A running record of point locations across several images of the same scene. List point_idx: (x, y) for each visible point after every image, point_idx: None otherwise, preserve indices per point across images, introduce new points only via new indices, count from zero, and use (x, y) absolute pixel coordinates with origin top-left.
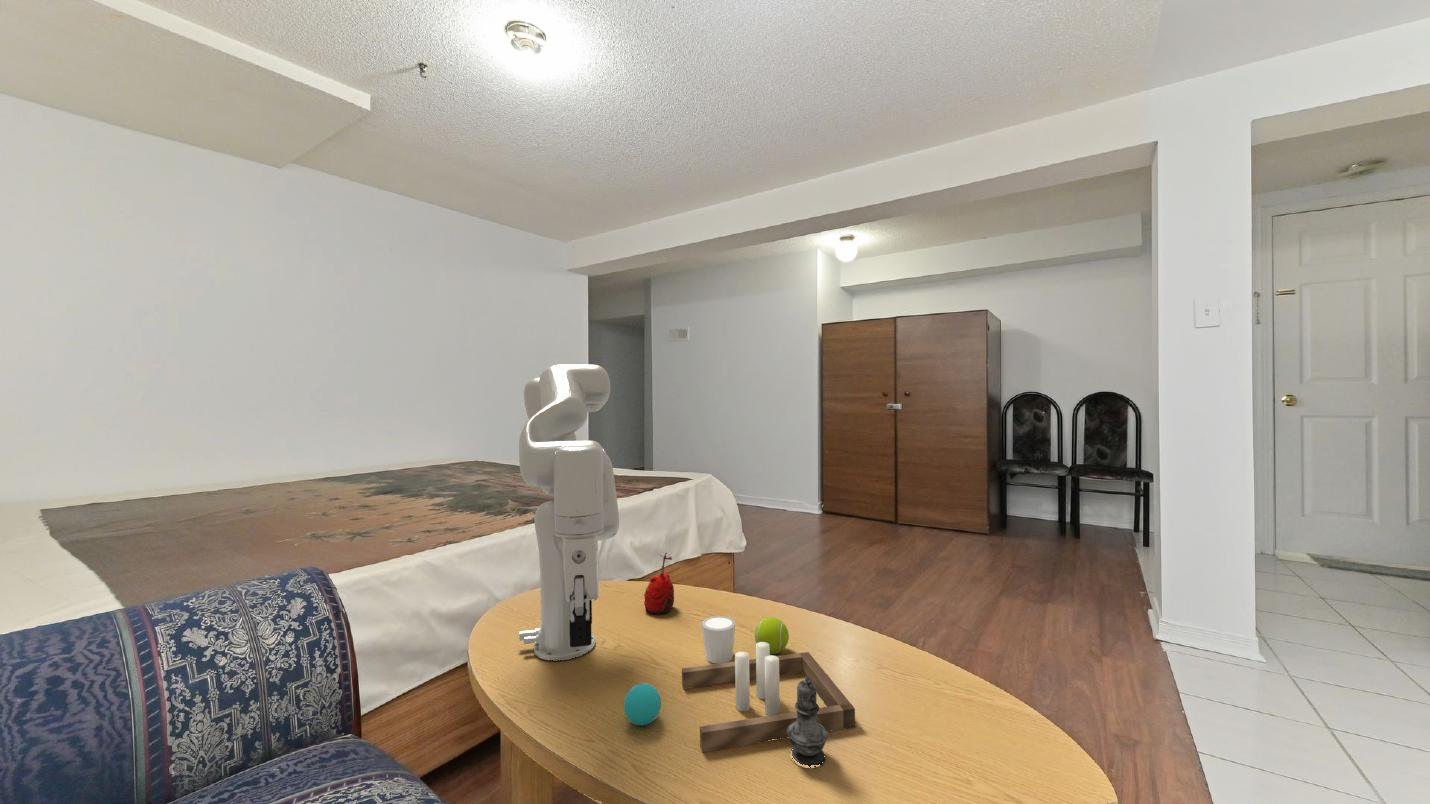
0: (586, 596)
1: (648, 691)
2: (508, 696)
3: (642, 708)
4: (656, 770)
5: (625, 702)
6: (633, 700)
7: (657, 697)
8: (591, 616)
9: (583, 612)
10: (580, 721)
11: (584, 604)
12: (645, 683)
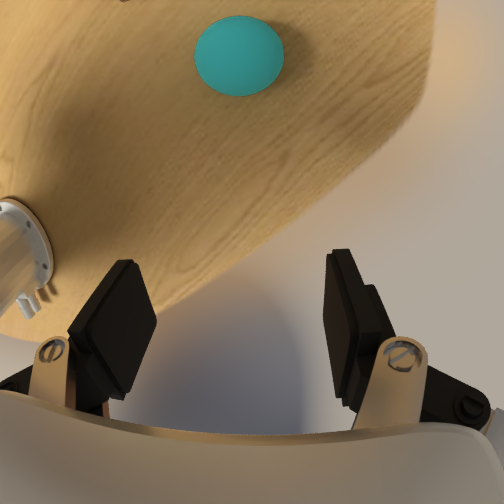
0: (77, 371)
1: (253, 34)
2: None
3: (282, 53)
4: (386, 51)
5: (250, 92)
6: (268, 72)
7: (252, 19)
8: (118, 278)
9: (498, 408)
10: (221, 182)
11: (107, 350)
12: (214, 43)
